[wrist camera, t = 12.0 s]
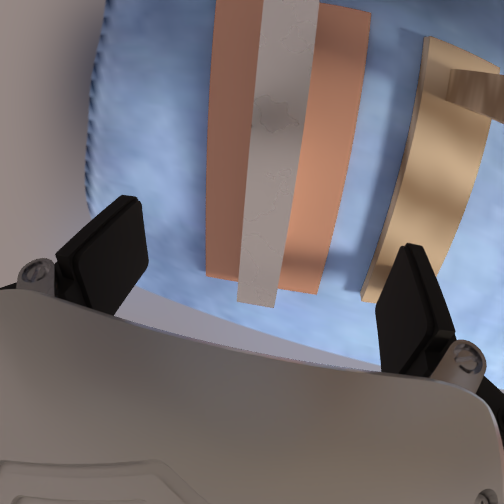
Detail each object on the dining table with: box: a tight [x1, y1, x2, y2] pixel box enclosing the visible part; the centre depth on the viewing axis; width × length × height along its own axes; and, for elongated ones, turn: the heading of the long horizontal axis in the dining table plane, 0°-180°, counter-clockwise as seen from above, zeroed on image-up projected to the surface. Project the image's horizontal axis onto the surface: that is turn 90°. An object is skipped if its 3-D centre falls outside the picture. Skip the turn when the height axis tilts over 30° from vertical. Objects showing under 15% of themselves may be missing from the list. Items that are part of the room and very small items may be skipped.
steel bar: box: [237, 0, 319, 308], centre depth 19 cm, size 22×3×3 cm, turn 175°
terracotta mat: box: [206, 0, 371, 295], centre depth 21 cm, size 23×10×1 cm, turn 175°
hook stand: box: [360, 36, 504, 303], centre depth 14 cm, size 22×6×14 cm, turn 175°
